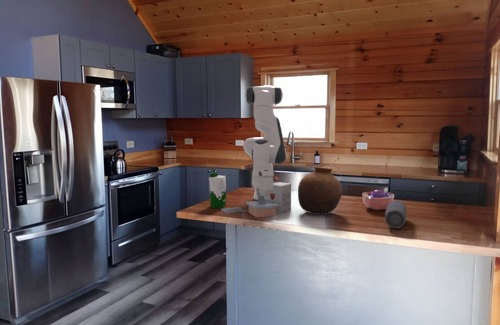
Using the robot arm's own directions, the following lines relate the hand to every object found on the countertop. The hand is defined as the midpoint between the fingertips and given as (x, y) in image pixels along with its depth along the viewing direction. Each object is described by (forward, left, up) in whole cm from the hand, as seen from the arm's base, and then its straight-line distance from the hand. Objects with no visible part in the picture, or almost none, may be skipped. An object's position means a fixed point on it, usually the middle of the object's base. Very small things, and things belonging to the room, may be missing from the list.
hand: (261, 197), depth 201 cm
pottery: (-29, +10, -10) cm, 32 cm away
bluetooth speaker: (-50, +43, -10) cm, 67 cm away
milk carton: (+16, -27, -10) cm, 33 cm away
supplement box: (-13, -5, -10) cm, 17 cm away
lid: (0, 0, -4) cm, 4 cm away
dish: (0, 0, -9) cm, 9 cm away
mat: (+11, -15, -9) cm, 21 cm away
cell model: (-63, +15, -10) cm, 65 cm away
